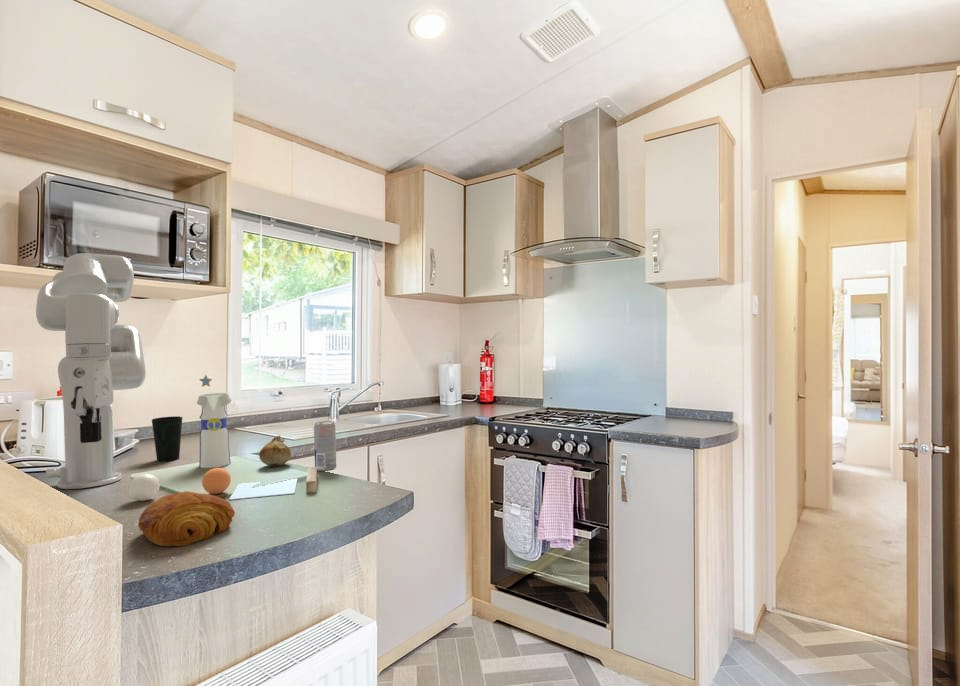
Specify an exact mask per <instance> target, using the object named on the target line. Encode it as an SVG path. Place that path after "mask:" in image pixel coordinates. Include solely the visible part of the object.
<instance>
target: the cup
mask: <svg viewBox="0 0 960 686" xmlns="http://www.w3.org/2000/svg"><path fill="white" fill-rule="evenodd" d="M151 425H152V432H153V438H154V439H153V440H154V447H155V455H156V461H157V462H159V463H162V462H163V463H166V462H173V461H177V460H179V459H180V453H181V439H182V429H183V427H182V426H183V416H178V415H176V416H163V417H156V418H152V419H151Z"/></svg>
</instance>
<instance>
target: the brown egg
mask: <svg viewBox="0 0 960 686" xmlns="http://www.w3.org/2000/svg"><path fill="white" fill-rule="evenodd" d="M201 484H202V487H203V489H204V491H205V492H206V493H208V494H210V495H220V494H221V493H224V492H225V491H226V490H227V489H228V488H229V486H230V485H231V474H230V473H229V472H228V470H226V469H224V468H223V467H215V468H210V469H209V470H208V471H206V472H205V474H204V475H203V477H202V483H201Z"/></svg>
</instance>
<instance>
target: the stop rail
mask: <svg viewBox="0 0 960 686" xmlns="http://www.w3.org/2000/svg"><path fill="white" fill-rule="evenodd" d="M317 483H318V471H317V467H315V466H311V467H307V474H306V482H305V487H306V491H305V492H306V494H315V493H317V485H318V484H317Z"/></svg>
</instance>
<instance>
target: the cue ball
mask: <svg viewBox="0 0 960 686" xmlns="http://www.w3.org/2000/svg"><path fill="white" fill-rule="evenodd" d="M160 487H161V486H160V481H159V479H158V478H157V476H155V475H153V474H152V473H142V474H138V475H137V476H135V477H134V478H132V479H131V481H130V482H129V486H128V493H129V495H130V497H131V498H132V499H134V500H135V501H138V502H139V501H140V502H145V501H149V500H151V499H152V498H154V497H155V496H156V495H157V494H158V492H159V490H160Z"/></svg>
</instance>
